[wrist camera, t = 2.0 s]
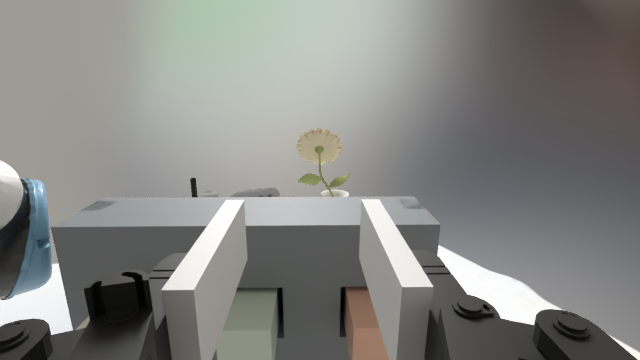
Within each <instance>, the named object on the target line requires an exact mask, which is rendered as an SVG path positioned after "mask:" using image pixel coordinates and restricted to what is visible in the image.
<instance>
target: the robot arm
mask: <svg viewBox="0 0 640 360" xmlns="http://www.w3.org/2000/svg"><path fill="white" fill-rule="evenodd" d="M359 260H360V263H361V266H362V270H363V273H364V277H365V280H366V283H367V287H368V290H369V294H370V297H371V300H372V304H373V307H374V311H375V314H376V317H377V321H378V324H379V328H380V331H381V334H382V338H383V341H384V345H385V348H386V352H387V355H388V358H389V360H637V359H636V358H635V357H634V356H632V355H631V354H630V353H629V352H628V351H626V350H625V349H624V348H623V347H622V346H620V345H619V344H618V343H617V342H616V341H615V340H613V339H612V338H611V337H610V336H609V335H607V334H606V333H605V332H604V331H603V330H601V329H600V328H599V327H598V326H596V325H595V324H593V323H592V322H590V321H589V320H587V319H584V318H582V317H580V316H578V315H577V314H574V313H571V312H568V311H563V310H553V309H549V310H543V311H540V312H539V313H538V314H537V315H536V319H535V324H534V325H529V324H524V323H519V322H513V321H509V320H505V319H501V318H500V316H499V314H498V312H497V311H496V310H495V308H494V307H493V306H492V305H490V304H489V303H487V302H486V301H484V300H482V299H479V298H477V297H475V296H470V295H467V294H466V292H465V291H464V290H463V288H462V287H461V286H460V284H459V283H458V282H457V280H456V279H455V278H454V277H453V275H452V274H451V273H450V271H449V270H448V269H447V267H445V265H444V263H443V262H442V261H441V259H440V258H439V257H438V256H436V255H435V254H433V253H431V252H430V251H428V250H410V248H409V246H408V245H407V243H406V242H405V240H404V238H403V237H402V235H401V234H400V232H399V230H398V229H397V227H396V226H395V224H394V222H393V221H392V219H391V218H390V216H389V214H388V213H387V211H386V209H385V208H384V206H383V205H382V203H381V201H380V200H379V199H361V220H360V245H359ZM246 262H247V241H246V222H245V204H244V200H226V201H225V202H224V203H223V205H222V206H221V207H220V209H219V210H218V212H217V213H216V214H215V216H214V217H213V219H212V220H211V221H210V223H209V224H208V226H207V227H206V228H205V230H204V231H203V232H202V234H201V235H200V237H199V238H198V239H197V241H196V242H195V244H194V245H193V246H192V248H191V249H190V251H189V252H188V253H173V254H171V255H170V256H168V257H166V258H165V259H163V260H161V261H160V262H159V263H158V265H157V266H156V267H155V268H154V269H153V272H151V273H150V274H149V275H148V274H147V273H146V272H144V271H142V270H137V269H125V270H119V271H114V272H111V273H108V274H105V275H102V276H100V277H98V278H96V279H94V280H93V281H91V282H90V283H89V284H87V285H86V286H85V287H84V293H85V298H86V303H87V308H88V313H89V318H90V321H89V323H88V325H87V326H86V328H82V329H78V330H73V331H69V332H64V333H59V334H54V335H51V332H50V328H49V324H48V323H47V322H45V321H44V320H40V319H27V320H19V321H14V322H13V323H12V322H11V323H8V324H5V325H3V326H1V327H0V360H212V358H213V356H214V353H215V350H216V347H217V344H218V341H219V338H220V336H221V333H222V330H223V327H224V324H225V321H226V319H227V316H228V313H229V310H230V307H231V304H232V301H233V299H234V296H235V293H236V290H237V287H238V284H239V282H240V279H241V276H242V273H243V270H244V267H245V264H246ZM51 273H52V261H51V246H50V234H49V218H48V208H47V198H46V190H45V186H44V184H43V182H41V181H39V180H29V179H20V178H19V176H18V175H17V173H16V172H15V171H14V170H13V169H12V168H11V167H10V166H9V165H8V164H6V163H5V162H3V161H1V160H0V299H1V300H7V299H10V298H12V297H13V296H15V295H18V294H21V293H24V292H28V291H31V290H34V289H37V288H40V287H41V286H43V285H44V284H46V283H47V282H48V280H49V279H50V277H51Z"/></svg>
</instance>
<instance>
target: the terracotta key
mask: <svg viewBox="0 0 640 360" xmlns="http://www.w3.org/2000/svg"><path fill="white" fill-rule="evenodd" d="M344 324H345V331H346V337H347V344H348V351H349V357H350V360H389V358H388V355H387V352H386V348H385V345H384V341H383V338H382V334H381V331H380V328H379V324H378V321H377V317H376V314H375V311H374V307H373V304H372V300H371V297H370V294H369V290H368V287H367V286H365V287H345V290H344Z"/></svg>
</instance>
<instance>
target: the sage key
mask: <svg viewBox="0 0 640 360" xmlns="http://www.w3.org/2000/svg"><path fill="white" fill-rule="evenodd" d="M278 326H279V290H278V288H237V290H236V293H235V296H234V299H233V301H232V304H231V307H230V310H229V313H228V316H227V319H226V321H225V324H224V327H223V330H222V333H221V336H220V338H219V341H218V344H217V347H216V350H217V360H274V359H275V351H276V343H277V334H278Z"/></svg>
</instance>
